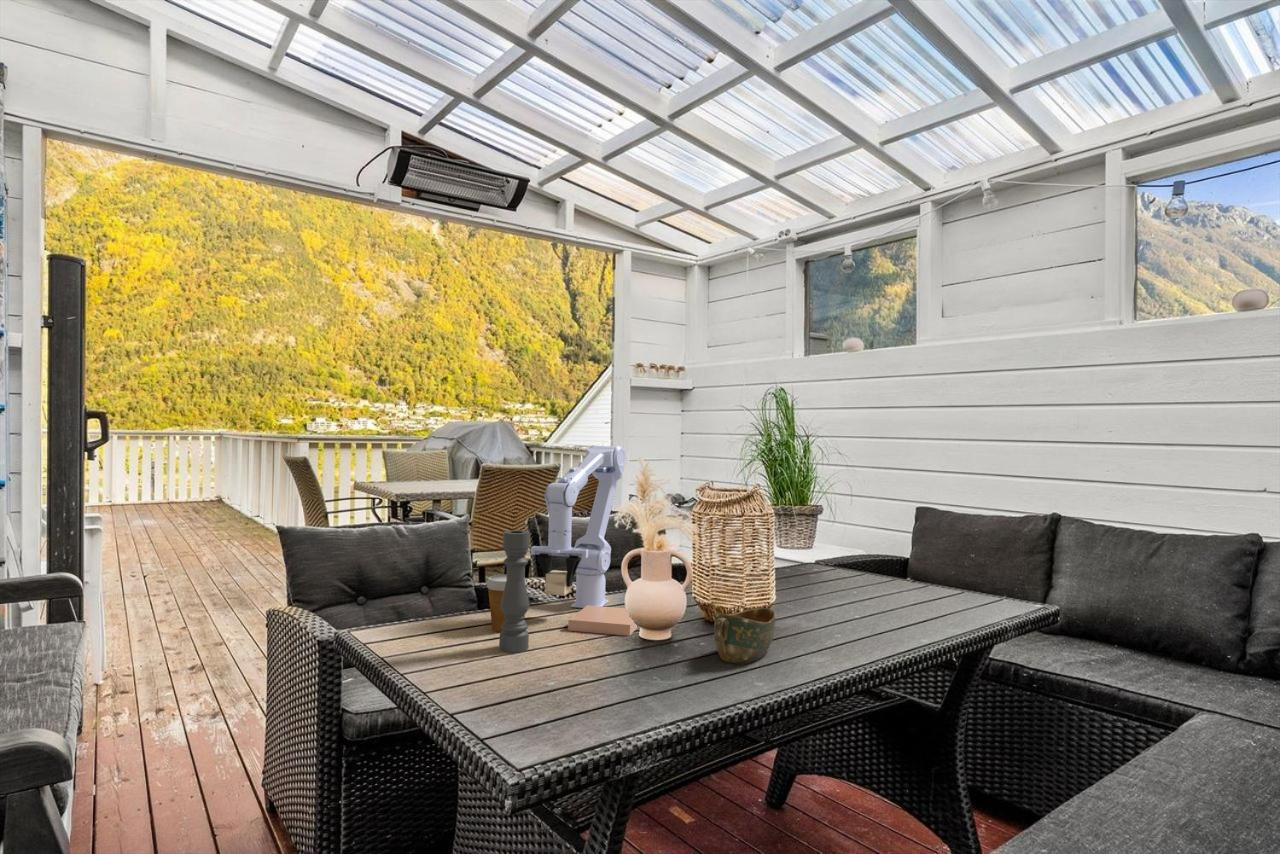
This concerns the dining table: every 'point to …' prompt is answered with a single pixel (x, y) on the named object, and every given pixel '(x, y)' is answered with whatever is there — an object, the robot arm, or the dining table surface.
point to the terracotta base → (602, 621)
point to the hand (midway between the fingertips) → (558, 585)
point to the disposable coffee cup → (496, 599)
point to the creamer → (744, 635)
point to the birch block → (557, 583)
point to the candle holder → (515, 593)
